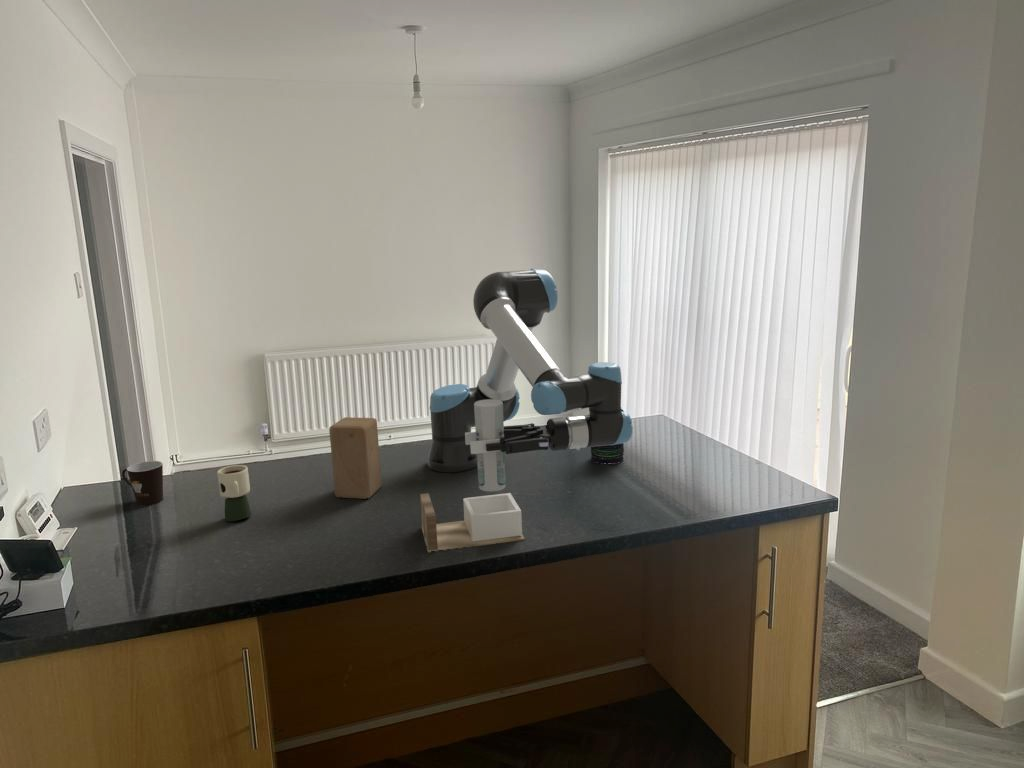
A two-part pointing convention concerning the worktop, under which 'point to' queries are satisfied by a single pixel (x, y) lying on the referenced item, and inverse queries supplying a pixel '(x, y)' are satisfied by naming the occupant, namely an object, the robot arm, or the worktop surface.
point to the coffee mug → (146, 481)
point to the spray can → (486, 429)
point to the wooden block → (355, 457)
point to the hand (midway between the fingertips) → (468, 443)
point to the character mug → (235, 491)
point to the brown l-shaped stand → (449, 531)
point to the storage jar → (608, 453)
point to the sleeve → (492, 517)
